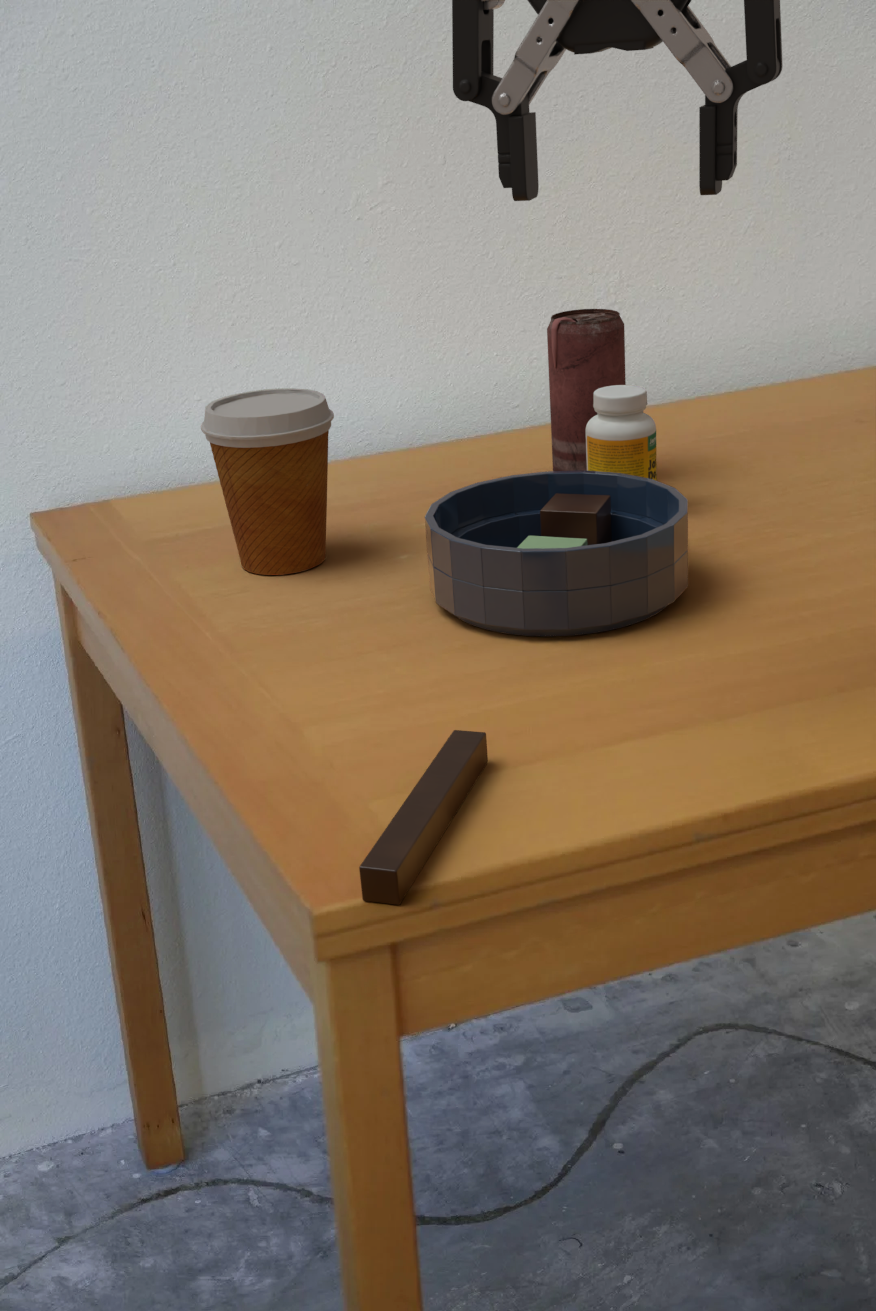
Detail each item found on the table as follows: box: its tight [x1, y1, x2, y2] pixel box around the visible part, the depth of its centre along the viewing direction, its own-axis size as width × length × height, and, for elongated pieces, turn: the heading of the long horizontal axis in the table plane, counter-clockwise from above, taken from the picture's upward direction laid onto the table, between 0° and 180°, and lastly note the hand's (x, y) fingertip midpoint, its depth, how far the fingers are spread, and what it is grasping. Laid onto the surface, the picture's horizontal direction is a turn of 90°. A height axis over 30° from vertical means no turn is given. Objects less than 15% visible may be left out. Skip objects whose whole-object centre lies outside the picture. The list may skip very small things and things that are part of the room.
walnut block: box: [540, 493, 612, 545], centre depth 103 cm, size 4×4×4 cm
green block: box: [517, 536, 587, 549], centre depth 95 cm, size 4×4×4 cm
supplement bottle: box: [586, 384, 658, 481], centre depth 113 cm, size 5×5×10 cm
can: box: [546, 308, 627, 471], centre depth 120 cm, size 6×6×14 cm
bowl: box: [424, 470, 689, 638], centre depth 99 cm, size 17×17×6 cm
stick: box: [358, 729, 489, 906], centre depth 72 cm, size 2×2×14 cm
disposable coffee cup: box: [200, 387, 335, 576], centre depth 107 cm, size 10×10×12 cm
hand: (617, 196), depth 67 cm, fingers open, 8 cm apart
